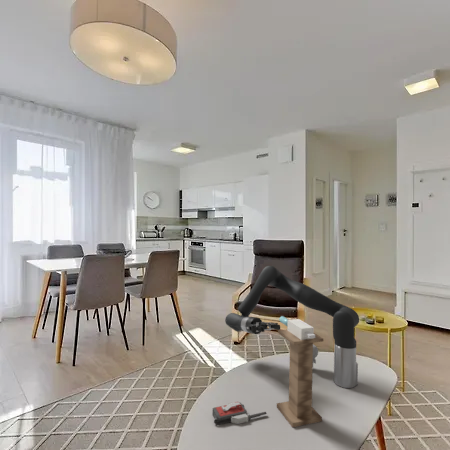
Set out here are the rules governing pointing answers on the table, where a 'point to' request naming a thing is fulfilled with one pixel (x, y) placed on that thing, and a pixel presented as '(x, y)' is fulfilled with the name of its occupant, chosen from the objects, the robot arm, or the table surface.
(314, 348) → the figurine
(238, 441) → the table surface
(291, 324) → the white block with ball
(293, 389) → the stand
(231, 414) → the walkie-talkie
